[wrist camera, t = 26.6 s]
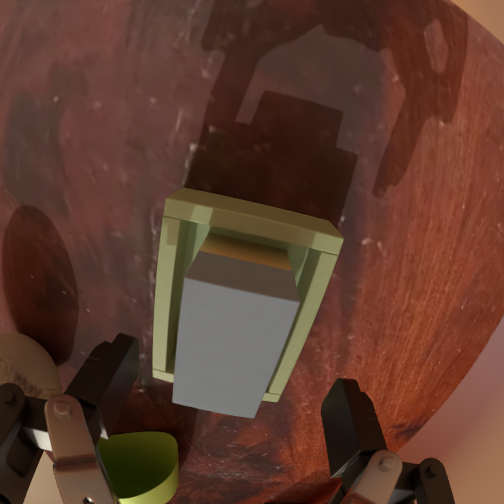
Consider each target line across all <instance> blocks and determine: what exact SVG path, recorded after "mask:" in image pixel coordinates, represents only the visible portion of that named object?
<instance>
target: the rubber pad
mask: <svg viewBox="0 0 504 504" xmlns="http://www.w3.org/2000/svg"><path fill="white" fill-rule="evenodd" d="M299 304H300V298H299V294H298V290H297V286H296V281H295V277H294V273H293V271H291V270H286V269H281V268H277V267H272V266H267V265H263V264H258V263H254V262H249V261H245V260H240V259H236V258H231V257H227V256H222V255H218V254H213V253H209V252H204V251H198V253H197V255H196V257H195V258H194V260H193V262H192V264H191V266H190V268H189V270H188V271H187V273H186V275H185V277H184V284H183V291H182V299H181V308H180V317H179V326H178V336H177V346H176V357H175V369H174V383H173V398H172V402H173V403H177V404H181V405H185V406H189V407H194V408H198V409H203V410H208V411H213V412H218V413H223V414H229V415H235V416H241V417H248V418H254V417H255V415H256V413H257V410H258V408H259V406H260V403H261V401H262V399H263V396H264V394H265V392H266V389H267V387H268V385H269V382H270V380H271V377H272V375H273V372H274V370H275V367H276V365H277V363H278V360H279V357H280V355H281V352H282V350H283V347H284V345H285V342H286V339H287V337H288V334H289V332H290V329H291V326H292V324H293V321H294V318H295V315H296V313H297V310H298V307H299Z"/></svg>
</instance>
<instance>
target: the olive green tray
mask: <svg viewBox="0 0 504 504" xmlns="http://www.w3.org/2000/svg"><path fill="white" fill-rule="evenodd" d="M208 233H213V234H217V235H222V236H226V237H231V238H235V239H240V240H244V241H248V242H253V243H257V244H262V245H266V246H271V247H275V248H280V249H284V250H287V252H288V256H289V260H290V264H291V269H292V271H293V273H294V277H295V281H296V286H297V290H298V294H299V298H300V304H299V307H298V310H297V313H296V315H295V318H294V321H293V324H292V326H291V329H290V332H289V334H288V337H287V339H286V342H285V345H284V347H283V350H282V352H281V355H280V357H279V360H278V363H277V365H276V367H275V370H274V372H273V375H272V377H271V380H270V382H269V385H268V387H267V389H266V392H265V394H264V396H263V399H262V400H264V401H272V402H278V400H279V398H280V396H281V394H282V392H283V389H284V387H285V385H286V383H287V381H288V379H289V377H290V374H291V372H292V370H293V368H294V366H295V363H296V361H297V359H298V357H299V354H300V352H301V350H302V348H303V345H304V343H305V341H306V338H307V336H308V333H309V331H310V329H311V326H312V324H313V321H314V319H315V316H316V314H317V311H318V309H319V306H320V304H321V301H322V299H323V296H324V293H325V291H326V288H327V285H328V283H329V280H330V277H331V275H332V272H333V269H334V266H335V263H336V261H337V258H338V255H337V254H339V252H340V249H341V246H342V243H343V240H344V238H343V236H342V235H341V234H340V233H339V232H338V230H337V229H336V228H335V227H334V226H333V225H332V223H331V222H330V221H328V220H324V219H321V218H317V217H313V216H309V215H305V214H301V213H297V212H293V211H289V210H285V209H281V208H276V207H272V206H268V205H264V204H259V203H255V202H251V201H246V200H242V199H237V198H232V197H228V196H223V195H218V194H214V193H209V192H204V191H199V190H194V189H189V188H181V189H180V190H178V191H176V192H175V193H173V194H171V195H170V196H168V197H167V198H166V200H165V207H164V216H163V220H162V228H161V237H160V246H159V255H158V266H157V277H156V291H155V306H154V327H153V377H155V378H158V379H162V380H166V381H169V382H173V383H174V369H175V357H176V346H177V336H178V326H179V317H180V308H181V299H182V291H183V284H184V277H185V275H186V273H187V271H188V270H189V268H190V266H191V264H192V262H193V260H194V258H195V257H196V255H197V253H198V251H199V249H200V247H201V245H202V244H203V242H204V240H205V238H206V236H207V235H208Z"/></svg>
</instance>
